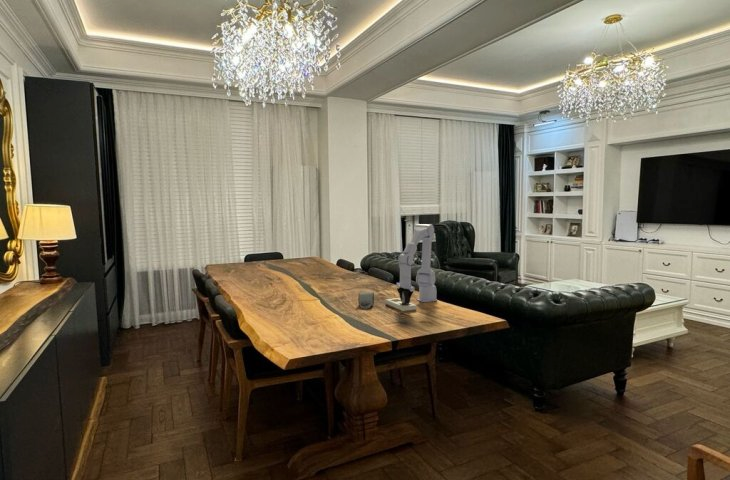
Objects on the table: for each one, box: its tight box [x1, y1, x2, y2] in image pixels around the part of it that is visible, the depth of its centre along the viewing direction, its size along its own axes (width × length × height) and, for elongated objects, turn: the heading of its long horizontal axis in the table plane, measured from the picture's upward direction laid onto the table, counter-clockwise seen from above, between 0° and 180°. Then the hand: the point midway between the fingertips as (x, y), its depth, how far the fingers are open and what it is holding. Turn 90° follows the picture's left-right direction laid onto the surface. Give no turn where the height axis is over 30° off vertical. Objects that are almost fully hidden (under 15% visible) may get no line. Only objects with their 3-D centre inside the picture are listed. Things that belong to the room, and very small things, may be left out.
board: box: [385, 297, 417, 314], centre depth 226 cm, size 8×18×3 cm, turn 27°
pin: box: [402, 291, 409, 306], centre depth 222 cm, size 4×4×8 cm
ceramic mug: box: [357, 291, 375, 310], centre depth 228 cm, size 11×8×8 cm
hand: (405, 302), depth 222 cm, fingers closed on pin, 3 cm apart
